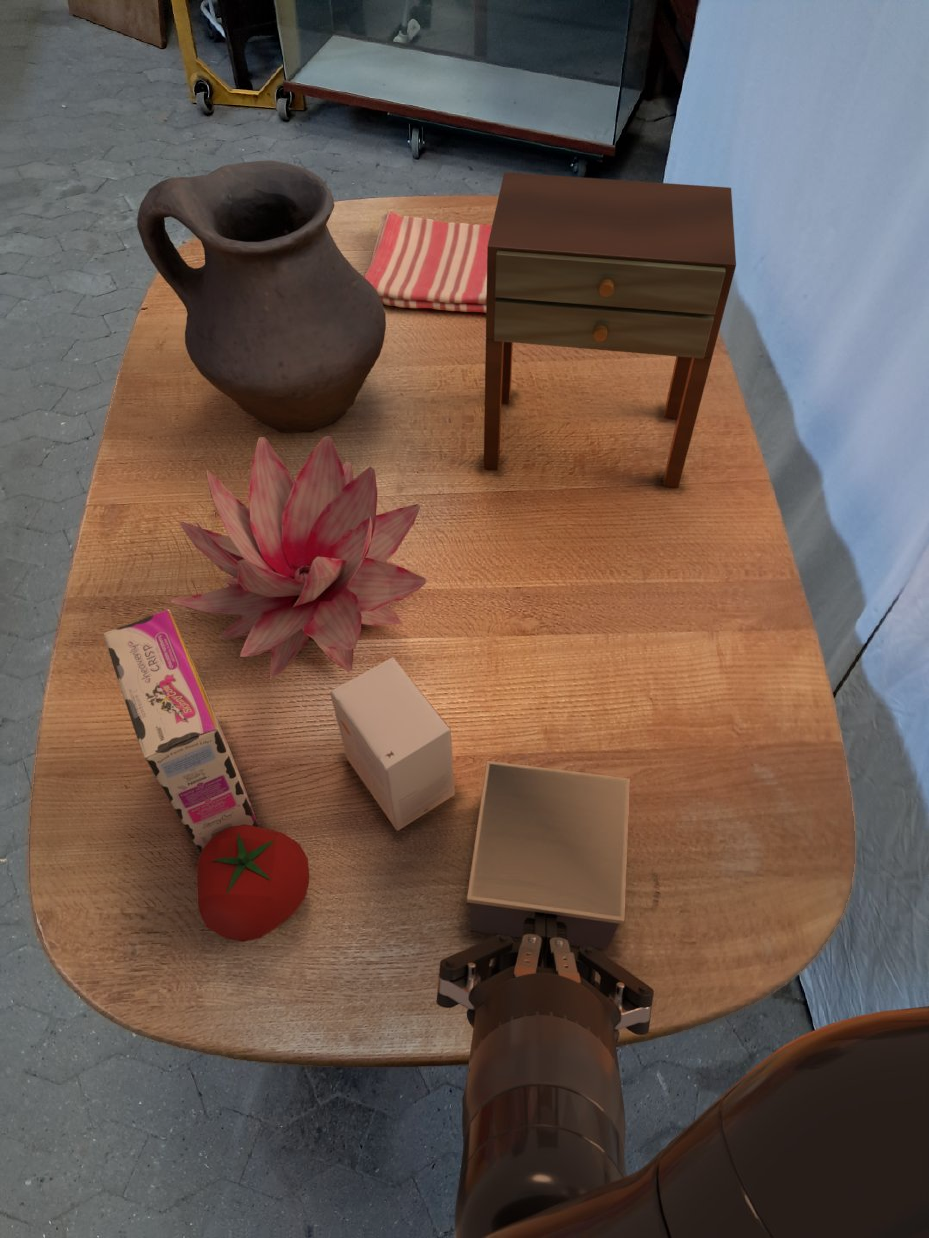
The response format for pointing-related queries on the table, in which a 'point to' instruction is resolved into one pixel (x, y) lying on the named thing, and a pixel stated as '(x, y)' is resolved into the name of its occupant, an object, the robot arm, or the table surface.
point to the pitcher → (268, 291)
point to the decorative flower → (304, 557)
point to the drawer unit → (608, 282)
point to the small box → (395, 742)
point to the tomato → (250, 881)
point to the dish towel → (430, 264)
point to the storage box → (550, 852)
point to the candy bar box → (178, 727)
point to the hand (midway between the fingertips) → (543, 925)
